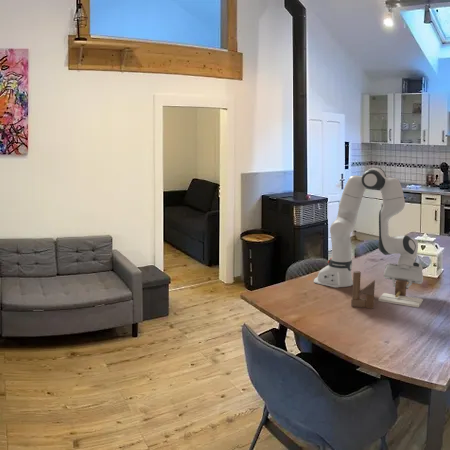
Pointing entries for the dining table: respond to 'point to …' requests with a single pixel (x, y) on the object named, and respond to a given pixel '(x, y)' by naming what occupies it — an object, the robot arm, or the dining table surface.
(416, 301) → the board
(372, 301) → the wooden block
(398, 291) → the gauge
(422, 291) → the dining table surface
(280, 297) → the dining table surface
